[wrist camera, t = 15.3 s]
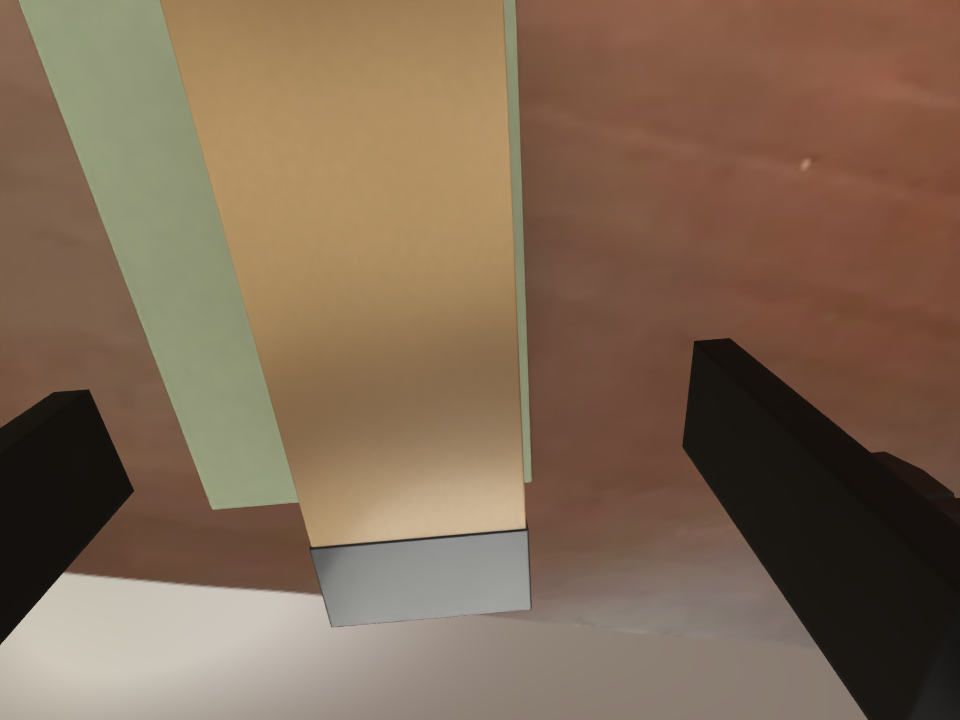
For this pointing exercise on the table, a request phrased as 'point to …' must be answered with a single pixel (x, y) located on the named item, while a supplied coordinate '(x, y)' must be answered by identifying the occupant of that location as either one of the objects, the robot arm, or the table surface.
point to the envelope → (191, 233)
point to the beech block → (376, 282)
